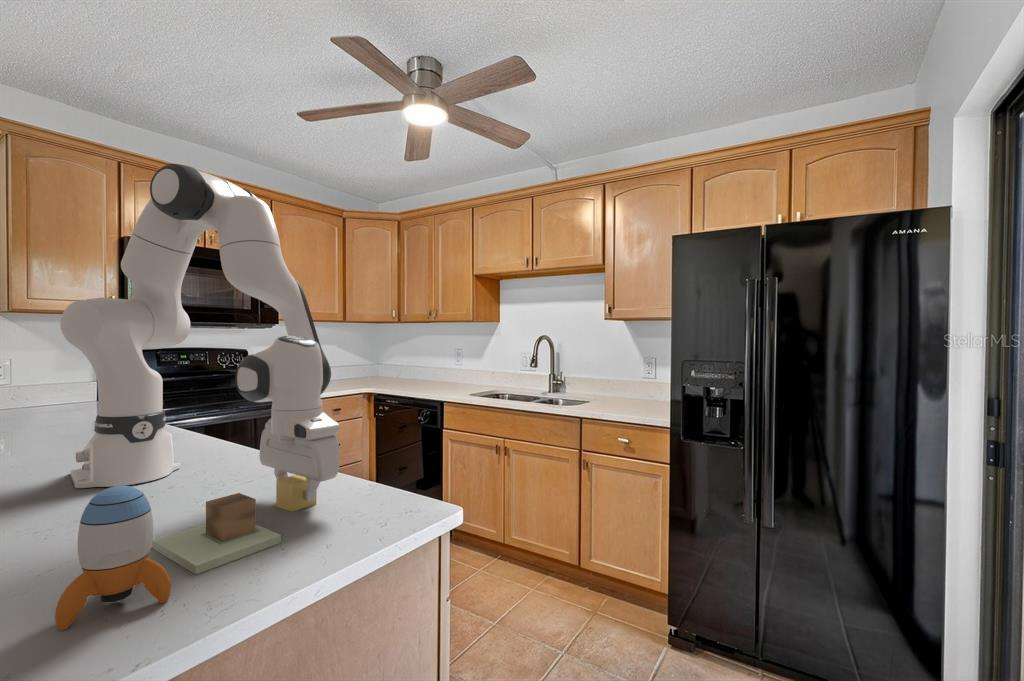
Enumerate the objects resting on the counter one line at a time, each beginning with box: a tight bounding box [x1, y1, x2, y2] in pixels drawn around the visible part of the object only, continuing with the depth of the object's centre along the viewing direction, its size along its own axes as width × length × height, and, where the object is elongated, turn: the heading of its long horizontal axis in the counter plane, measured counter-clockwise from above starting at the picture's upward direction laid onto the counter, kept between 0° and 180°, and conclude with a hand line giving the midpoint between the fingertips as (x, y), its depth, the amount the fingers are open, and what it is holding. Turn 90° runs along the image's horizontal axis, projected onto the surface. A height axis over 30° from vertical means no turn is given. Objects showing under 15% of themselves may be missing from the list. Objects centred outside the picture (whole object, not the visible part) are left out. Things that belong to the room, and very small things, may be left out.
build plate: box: [151, 523, 282, 575], centre depth 74 cm, size 14×12×1 cm
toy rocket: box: [54, 485, 172, 632], centre depth 58 cm, size 10×11×15 cm
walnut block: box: [205, 492, 257, 542], centre depth 75 cm, size 5×5×5 cm
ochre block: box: [275, 474, 318, 513], centre depth 91 cm, size 5×5×5 cm
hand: (296, 495), depth 91 cm, fingers open, 6 cm apart
